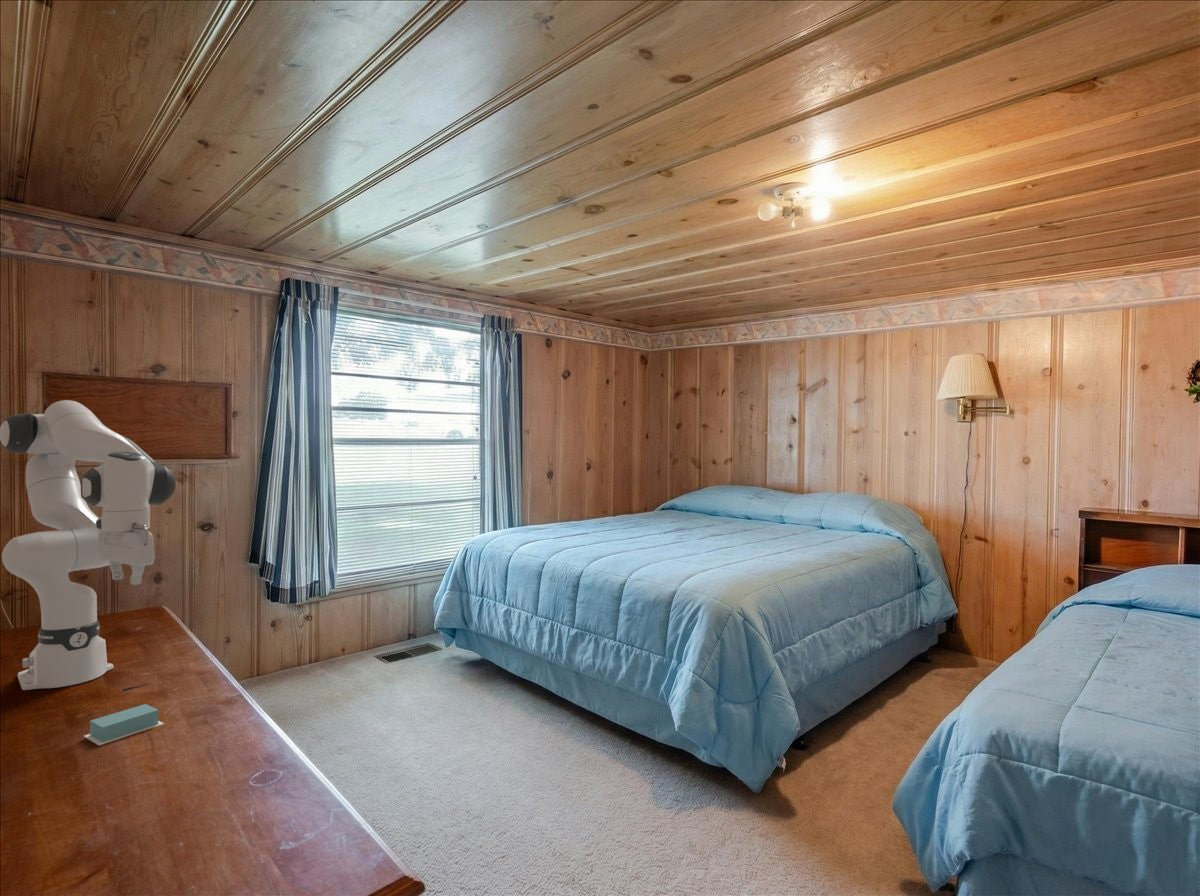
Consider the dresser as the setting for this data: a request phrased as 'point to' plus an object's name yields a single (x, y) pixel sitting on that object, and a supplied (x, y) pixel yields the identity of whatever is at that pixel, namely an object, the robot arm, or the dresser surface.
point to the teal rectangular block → (123, 722)
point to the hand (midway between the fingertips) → (126, 581)
